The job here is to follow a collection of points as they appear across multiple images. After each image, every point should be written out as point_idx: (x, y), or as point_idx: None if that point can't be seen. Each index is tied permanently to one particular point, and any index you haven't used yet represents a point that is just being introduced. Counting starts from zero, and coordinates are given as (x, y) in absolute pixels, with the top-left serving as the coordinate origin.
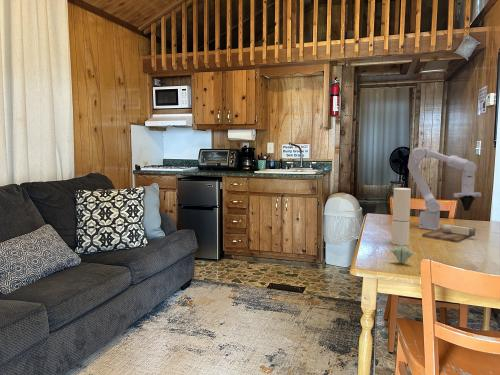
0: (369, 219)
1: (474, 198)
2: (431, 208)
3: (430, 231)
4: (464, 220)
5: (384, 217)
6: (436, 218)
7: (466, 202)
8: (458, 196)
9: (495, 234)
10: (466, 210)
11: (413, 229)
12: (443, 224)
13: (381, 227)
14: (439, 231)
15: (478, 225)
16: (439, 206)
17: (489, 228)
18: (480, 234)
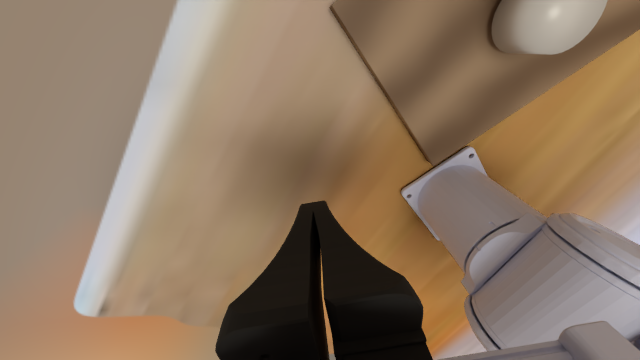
0: None
1: (239, 311)
2: (613, 236)
3: (579, 68)
4: (205, 319)
5: (466, 341)
6: (494, 195)
7: (366, 252)
8: (536, 356)
9: (173, 14)
10: (326, 205)
11: (545, 174)
12: (571, 46)
13: (632, 212)
14: (530, 63)
15: (183, 244)
16: (595, 237)
17: (149, 185)
18: (280, 23)
